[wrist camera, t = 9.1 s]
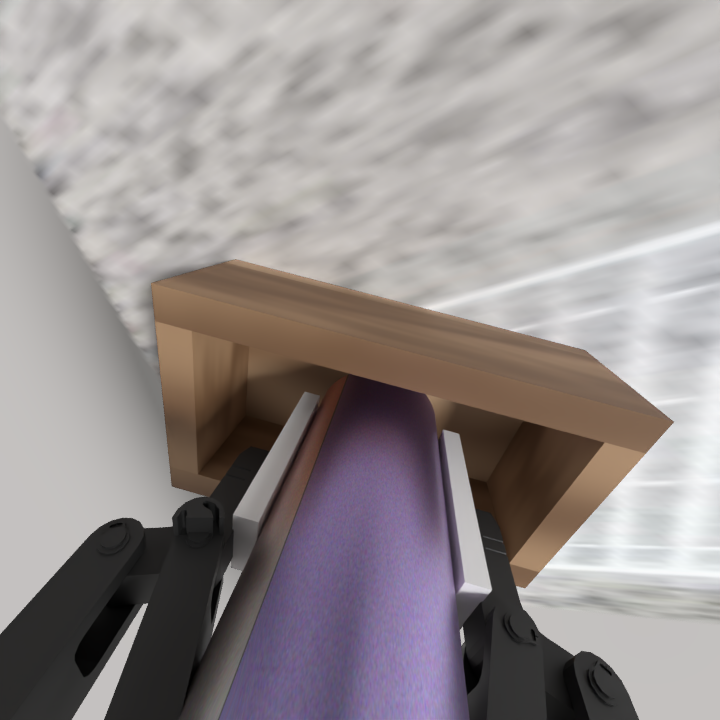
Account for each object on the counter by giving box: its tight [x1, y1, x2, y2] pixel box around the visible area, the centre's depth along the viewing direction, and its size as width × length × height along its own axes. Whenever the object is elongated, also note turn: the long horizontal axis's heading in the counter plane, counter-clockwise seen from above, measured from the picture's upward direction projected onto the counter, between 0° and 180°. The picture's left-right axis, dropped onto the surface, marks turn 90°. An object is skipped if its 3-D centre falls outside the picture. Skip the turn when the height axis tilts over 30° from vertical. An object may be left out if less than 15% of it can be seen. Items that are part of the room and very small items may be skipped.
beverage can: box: [178, 374, 470, 720], centre depth 10 cm, size 6×6×15 cm
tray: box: [151, 259, 673, 588], centre depth 16 cm, size 11×19×6 cm, turn 77°
